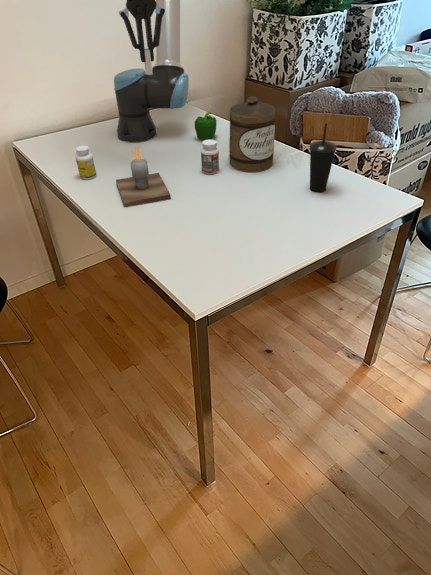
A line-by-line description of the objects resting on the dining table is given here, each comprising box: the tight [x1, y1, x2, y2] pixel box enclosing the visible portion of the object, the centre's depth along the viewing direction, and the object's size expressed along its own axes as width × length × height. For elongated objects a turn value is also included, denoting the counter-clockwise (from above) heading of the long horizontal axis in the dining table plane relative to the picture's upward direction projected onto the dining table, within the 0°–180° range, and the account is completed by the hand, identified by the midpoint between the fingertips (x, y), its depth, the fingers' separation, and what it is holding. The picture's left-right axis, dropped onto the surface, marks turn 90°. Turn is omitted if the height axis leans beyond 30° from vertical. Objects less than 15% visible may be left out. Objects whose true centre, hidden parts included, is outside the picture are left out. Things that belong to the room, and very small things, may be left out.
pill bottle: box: [200, 139, 220, 175], centre depth 148 cm, size 6×6×10 cm
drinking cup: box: [309, 123, 338, 194], centre depth 133 cm, size 8×8×20 cm
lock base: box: [115, 172, 172, 208], centre depth 140 cm, size 16×14×5 cm
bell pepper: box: [194, 110, 218, 142], centre depth 170 cm, size 8×8×10 cm
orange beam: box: [129, 147, 150, 179], centre depth 140 cm, size 14×5×4 cm, turn 12°
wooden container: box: [228, 95, 276, 173], centre depth 148 cm, size 15×15×22 cm
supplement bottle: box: [75, 145, 97, 180], centre depth 148 cm, size 5×5×10 cm
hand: (148, 73), depth 137 cm, fingers closed
